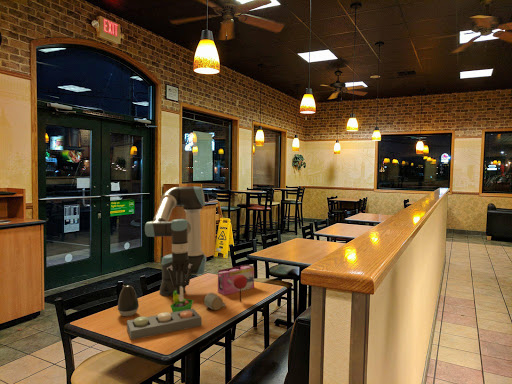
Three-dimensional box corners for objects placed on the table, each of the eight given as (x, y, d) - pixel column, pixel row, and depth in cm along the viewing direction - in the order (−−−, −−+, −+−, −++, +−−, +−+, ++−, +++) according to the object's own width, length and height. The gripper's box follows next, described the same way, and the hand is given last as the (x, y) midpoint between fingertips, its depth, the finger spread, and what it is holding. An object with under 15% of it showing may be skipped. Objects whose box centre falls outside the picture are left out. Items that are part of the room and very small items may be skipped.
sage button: (133, 323, 169) (133, 318, 169) (146, 320, 172) (146, 315, 171) (135, 328, 164) (135, 322, 163) (149, 325, 166) (149, 320, 166)
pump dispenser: (133, 309, 196) (132, 281, 195) (142, 314, 189) (141, 285, 188) (114, 314, 189) (113, 285, 188) (123, 320, 182) (122, 290, 181)
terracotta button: (178, 317, 178) (178, 312, 178) (190, 315, 181) (190, 310, 181) (181, 321, 173) (181, 316, 173) (194, 319, 176) (194, 314, 176)
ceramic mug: (212, 312, 190) (212, 297, 190) (203, 308, 196) (203, 294, 196) (228, 307, 197) (228, 293, 197) (220, 303, 203) (220, 290, 203)
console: (127, 329, 171) (126, 320, 171) (193, 316, 185) (193, 308, 185) (131, 340, 159) (130, 331, 159) (201, 325, 174) (201, 317, 174)
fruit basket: (182, 317, 184) (182, 295, 184) (167, 315, 187) (167, 293, 187) (194, 309, 195) (193, 288, 194) (179, 307, 198) (179, 287, 198)
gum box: (222, 296, 216) (222, 273, 216) (215, 292, 222) (215, 270, 222) (254, 287, 231) (254, 266, 230) (247, 284, 237) (246, 264, 236)
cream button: (156, 319, 174) (156, 313, 173) (169, 316, 176) (169, 311, 176) (159, 323, 168) (159, 318, 168) (172, 321, 171) (172, 315, 171)
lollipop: (245, 304, 202) (244, 277, 201) (231, 303, 204) (231, 276, 203) (249, 299, 209) (248, 273, 208) (236, 298, 211) (235, 272, 210)
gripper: (168, 254, 168) (169, 305, 169) (195, 251, 174) (196, 300, 175) (164, 251, 175) (165, 300, 176) (190, 249, 181) (191, 296, 182)
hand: (181, 300), depth 175 cm, fingers closed
